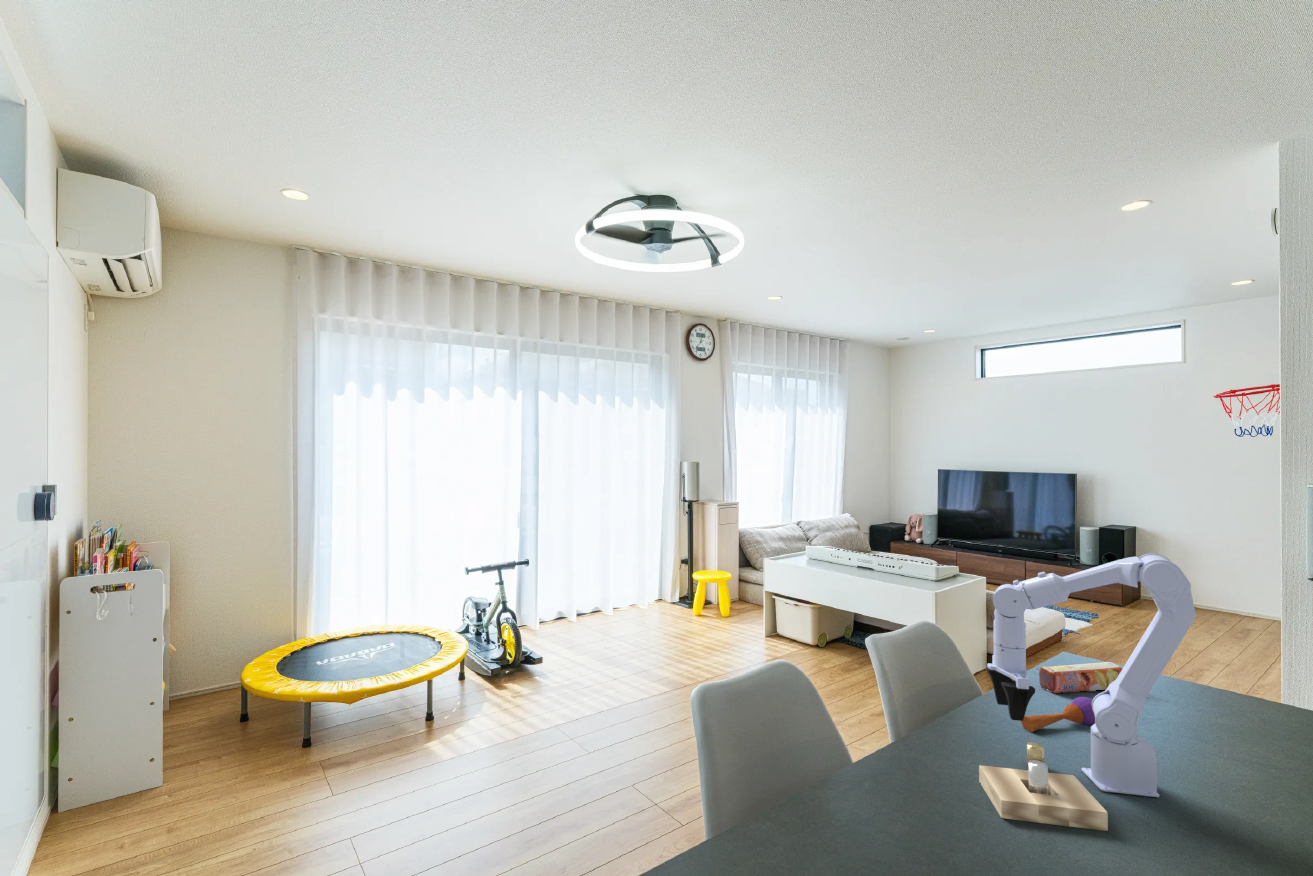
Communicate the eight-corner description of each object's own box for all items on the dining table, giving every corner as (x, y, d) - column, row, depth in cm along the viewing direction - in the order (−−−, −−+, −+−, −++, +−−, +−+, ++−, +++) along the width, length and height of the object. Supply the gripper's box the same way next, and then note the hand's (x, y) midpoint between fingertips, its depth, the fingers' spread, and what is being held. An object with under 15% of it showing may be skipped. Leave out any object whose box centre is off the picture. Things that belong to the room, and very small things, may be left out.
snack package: (1055, 696, 158) (1055, 670, 158) (1036, 687, 164) (1036, 661, 164) (1127, 693, 161) (1127, 667, 161) (1105, 683, 167) (1105, 658, 167)
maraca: (1013, 707, 140) (1080, 692, 146) (1019, 735, 139) (1086, 719, 145) (1035, 713, 135) (1104, 697, 140) (1041, 741, 134) (1111, 725, 139)
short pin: (1040, 763, 122) (1040, 742, 123) (1047, 770, 120) (1047, 750, 120) (1024, 761, 123) (1024, 741, 123) (1030, 768, 120) (1030, 748, 120)
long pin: (1044, 800, 109) (1044, 761, 109) (1051, 810, 106) (1051, 769, 106) (1025, 798, 109) (1025, 759, 110) (1032, 808, 107) (1031, 767, 107)
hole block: (1073, 791, 112) (1073, 775, 112) (1107, 831, 100) (1107, 812, 100) (979, 781, 115) (979, 765, 115) (1001, 818, 103) (1001, 800, 103)
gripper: (977, 633, 133) (977, 696, 132) (1000, 654, 118) (1000, 725, 118) (1012, 635, 131) (1012, 699, 131) (1040, 657, 117) (1041, 728, 117)
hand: (1009, 711), depth 124 cm, fingers open, 7 cm apart
